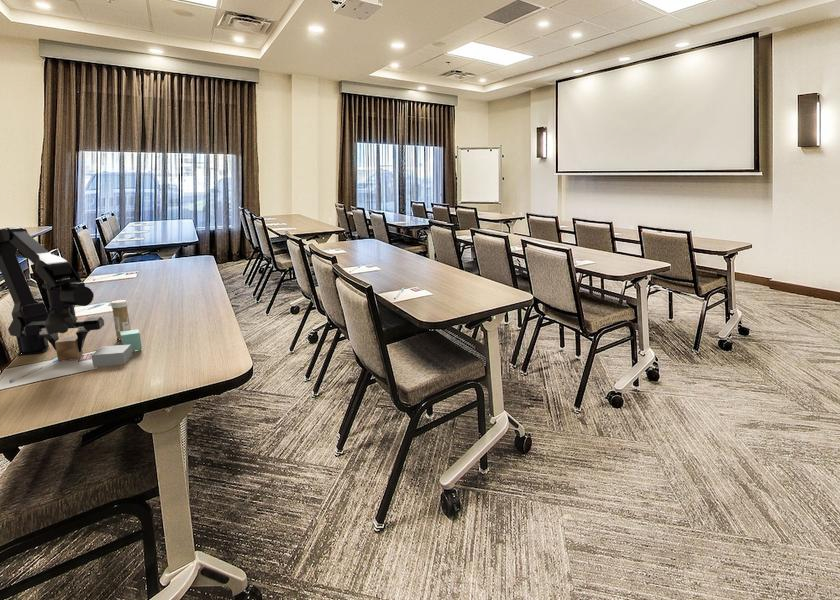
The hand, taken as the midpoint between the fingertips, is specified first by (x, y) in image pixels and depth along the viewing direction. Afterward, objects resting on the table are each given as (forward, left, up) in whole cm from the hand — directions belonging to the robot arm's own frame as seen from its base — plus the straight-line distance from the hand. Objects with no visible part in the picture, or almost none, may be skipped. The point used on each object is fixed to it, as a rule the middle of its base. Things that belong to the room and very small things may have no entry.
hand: (70, 352), depth 143 cm
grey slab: (+13, -8, -2) cm, 15 cm away
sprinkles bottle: (+11, +16, -2) cm, 19 cm away
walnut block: (0, 0, -2) cm, 2 cm away
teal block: (+16, +2, -2) cm, 16 cm away
